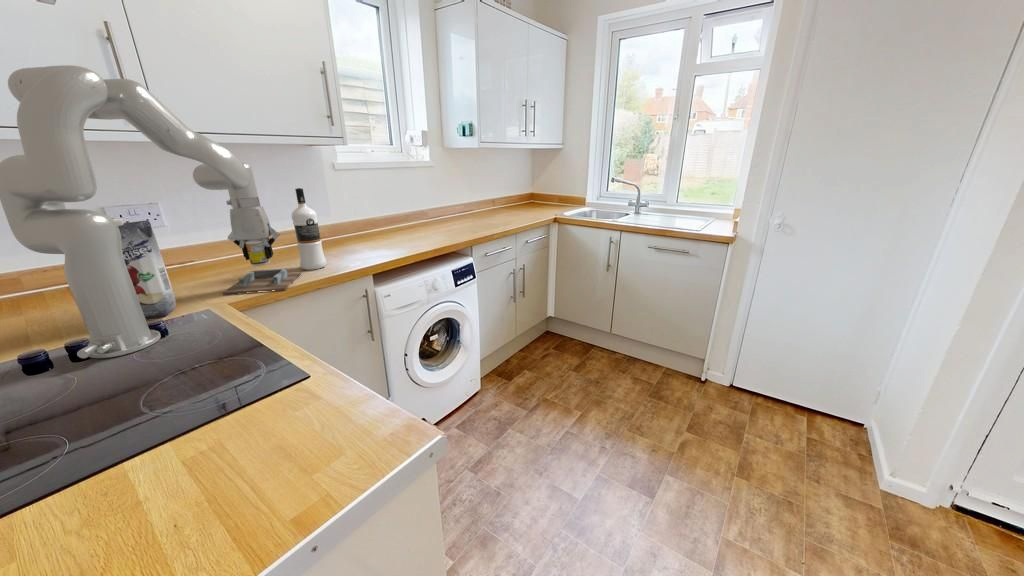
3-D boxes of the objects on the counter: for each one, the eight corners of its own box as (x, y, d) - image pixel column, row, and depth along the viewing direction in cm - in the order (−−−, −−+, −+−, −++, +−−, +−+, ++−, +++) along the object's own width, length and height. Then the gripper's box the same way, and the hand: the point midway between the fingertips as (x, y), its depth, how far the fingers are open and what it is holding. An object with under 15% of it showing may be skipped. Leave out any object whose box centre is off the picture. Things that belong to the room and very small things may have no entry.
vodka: (322, 262, 157) (308, 186, 147) (330, 267, 151) (316, 188, 141) (297, 267, 151) (281, 188, 141) (305, 272, 145) (288, 190, 135)
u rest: (285, 290, 126) (282, 280, 125) (223, 295, 122) (220, 284, 121) (301, 274, 142) (300, 265, 141) (247, 278, 139) (245, 268, 138)
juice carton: (137, 312, 110) (102, 217, 101) (181, 306, 114) (151, 214, 105) (120, 324, 103) (80, 222, 94) (168, 318, 106) (135, 219, 97)
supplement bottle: (253, 262, 132) (246, 232, 128) (272, 261, 133) (265, 231, 130) (248, 267, 127) (240, 236, 123) (267, 265, 128) (260, 234, 125)
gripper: (209, 206, 118) (225, 263, 124) (271, 203, 121) (283, 259, 128) (221, 203, 125) (236, 257, 131) (279, 200, 128) (291, 253, 134)
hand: (259, 257), depth 129 cm, fingers closed on supplement bottle, 5 cm apart
